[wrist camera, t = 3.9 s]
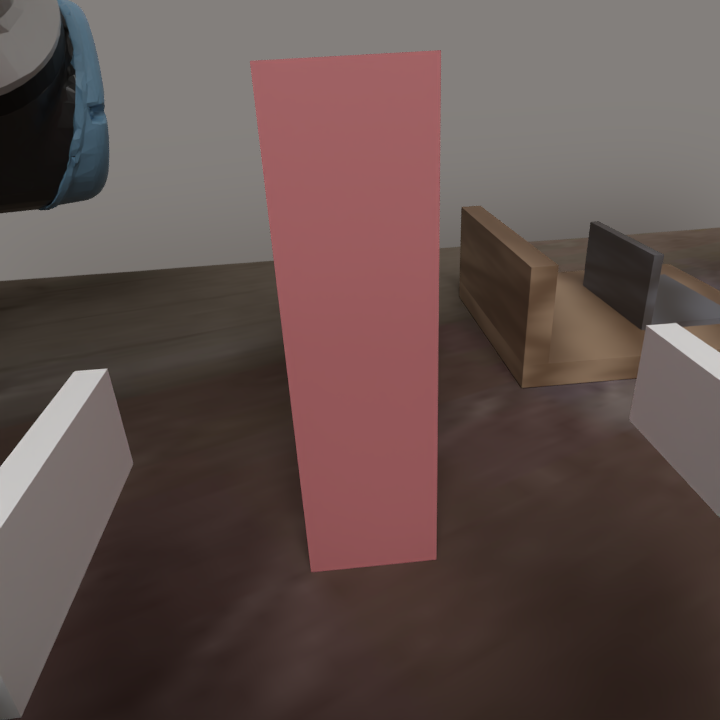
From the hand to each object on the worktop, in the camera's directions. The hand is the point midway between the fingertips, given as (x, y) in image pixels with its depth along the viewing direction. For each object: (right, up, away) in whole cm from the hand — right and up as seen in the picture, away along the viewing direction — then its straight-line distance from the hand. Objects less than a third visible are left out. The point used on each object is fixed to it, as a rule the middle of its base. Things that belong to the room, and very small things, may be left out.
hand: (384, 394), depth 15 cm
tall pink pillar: (-1, -5, +14) cm, 14 cm away
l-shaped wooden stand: (+17, +3, +28) cm, 33 cm away
